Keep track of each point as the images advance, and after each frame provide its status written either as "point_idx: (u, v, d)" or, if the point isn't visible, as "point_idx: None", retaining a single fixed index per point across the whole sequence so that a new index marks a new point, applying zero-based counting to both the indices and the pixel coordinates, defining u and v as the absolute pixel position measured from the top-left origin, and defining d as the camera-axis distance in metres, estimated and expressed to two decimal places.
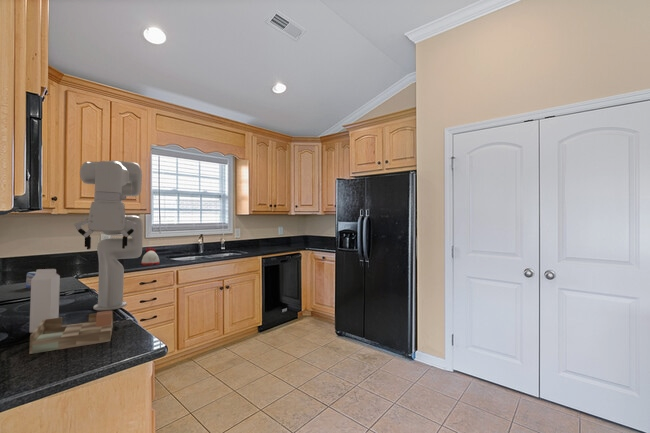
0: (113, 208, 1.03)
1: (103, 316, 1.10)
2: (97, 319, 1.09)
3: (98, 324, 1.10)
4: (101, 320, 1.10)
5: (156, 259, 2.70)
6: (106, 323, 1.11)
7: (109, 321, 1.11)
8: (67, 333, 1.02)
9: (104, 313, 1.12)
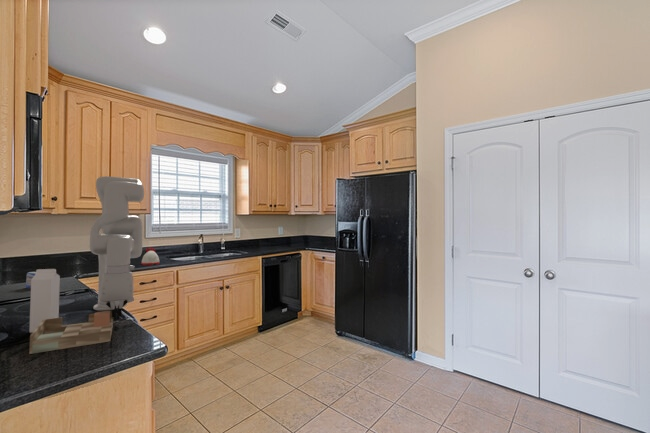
0: (122, 279, 1.13)
1: (101, 316, 1.10)
2: (95, 319, 1.09)
3: (96, 324, 1.09)
4: (99, 320, 1.10)
5: (156, 259, 2.70)
6: (104, 323, 1.10)
7: (107, 321, 1.11)
8: (67, 333, 1.02)
9: (102, 313, 1.11)
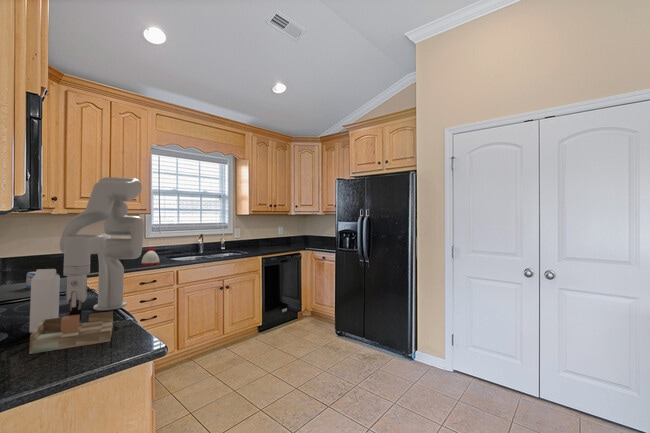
0: None
1: (69, 321, 1.05)
2: (62, 324, 1.04)
3: (63, 329, 1.04)
4: (67, 325, 1.05)
5: (156, 259, 2.70)
6: (72, 328, 1.05)
7: (75, 326, 1.06)
8: (67, 333, 1.02)
9: (70, 317, 1.06)
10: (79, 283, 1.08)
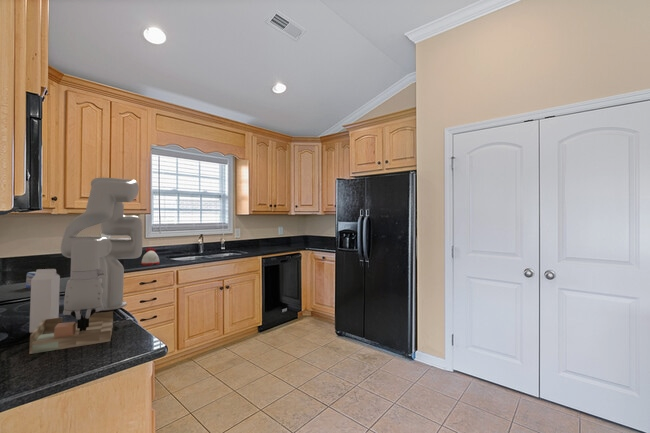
0: (89, 286, 1.02)
1: (62, 328, 0.98)
2: (55, 332, 0.97)
3: (57, 337, 0.97)
4: (60, 333, 0.97)
5: (156, 259, 2.70)
6: (66, 336, 0.98)
7: (70, 334, 0.98)
8: None
9: (64, 325, 0.99)
10: (102, 285, 1.07)
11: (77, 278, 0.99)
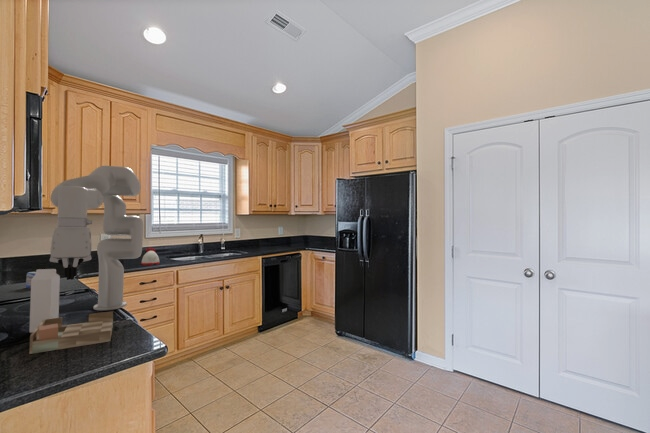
0: (77, 233, 1.00)
1: (47, 331, 0.95)
2: (40, 335, 0.94)
3: None
4: (45, 335, 0.95)
5: (156, 259, 2.70)
6: (51, 338, 0.96)
7: (55, 336, 0.97)
8: (67, 333, 1.02)
9: (48, 327, 0.97)
10: (90, 235, 1.05)
11: (64, 224, 0.97)
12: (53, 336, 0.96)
